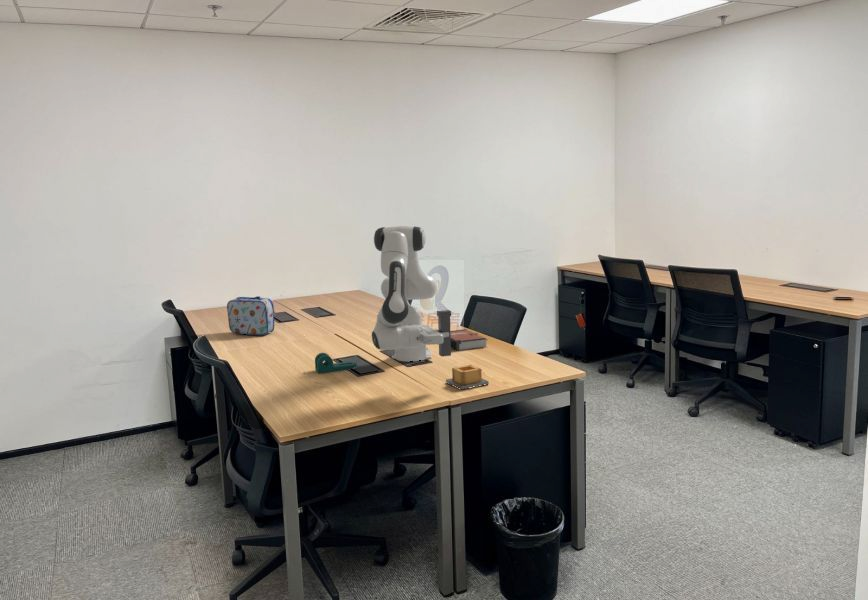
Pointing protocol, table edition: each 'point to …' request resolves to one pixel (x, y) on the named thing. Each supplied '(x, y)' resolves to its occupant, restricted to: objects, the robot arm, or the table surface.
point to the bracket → (330, 364)
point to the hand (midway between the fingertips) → (446, 332)
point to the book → (466, 340)
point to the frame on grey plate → (466, 377)
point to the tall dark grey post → (444, 327)
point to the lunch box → (251, 315)
